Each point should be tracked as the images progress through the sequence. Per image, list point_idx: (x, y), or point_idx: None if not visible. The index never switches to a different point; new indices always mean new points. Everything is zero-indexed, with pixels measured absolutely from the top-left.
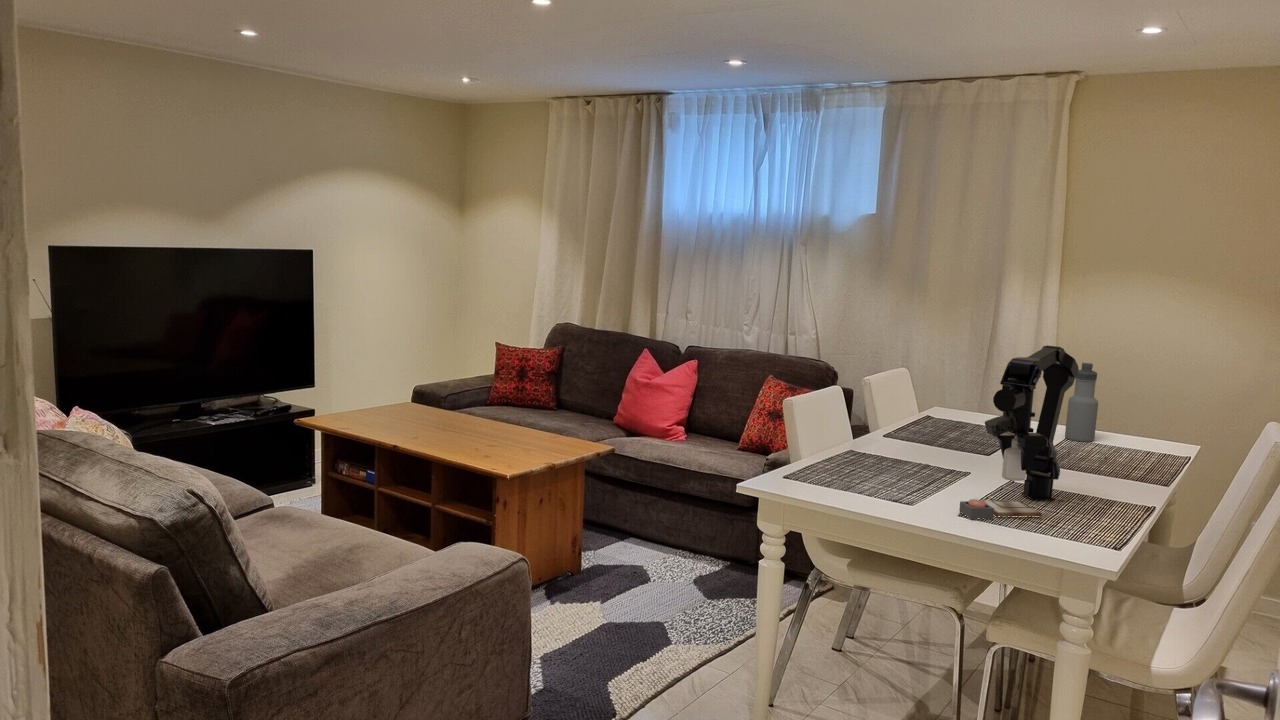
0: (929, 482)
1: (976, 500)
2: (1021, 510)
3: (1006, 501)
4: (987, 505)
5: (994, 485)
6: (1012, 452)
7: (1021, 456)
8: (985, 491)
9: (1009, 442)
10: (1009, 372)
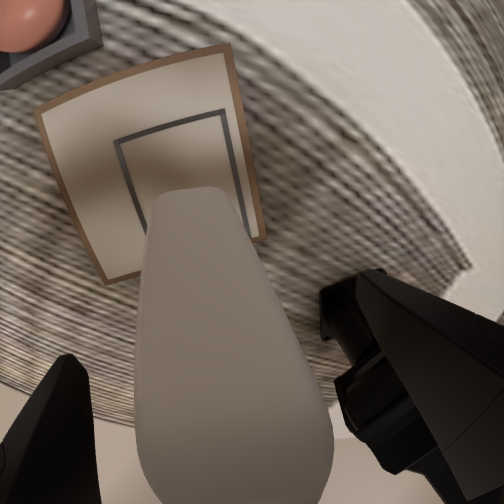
0: (475, 29)
1: (39, 8)
2: (99, 219)
3: (233, 184)
4: (22, 62)
5: (454, 215)
6: (141, 458)
7: (10, 458)
8: (415, 164)
9: (468, 435)
10: None
